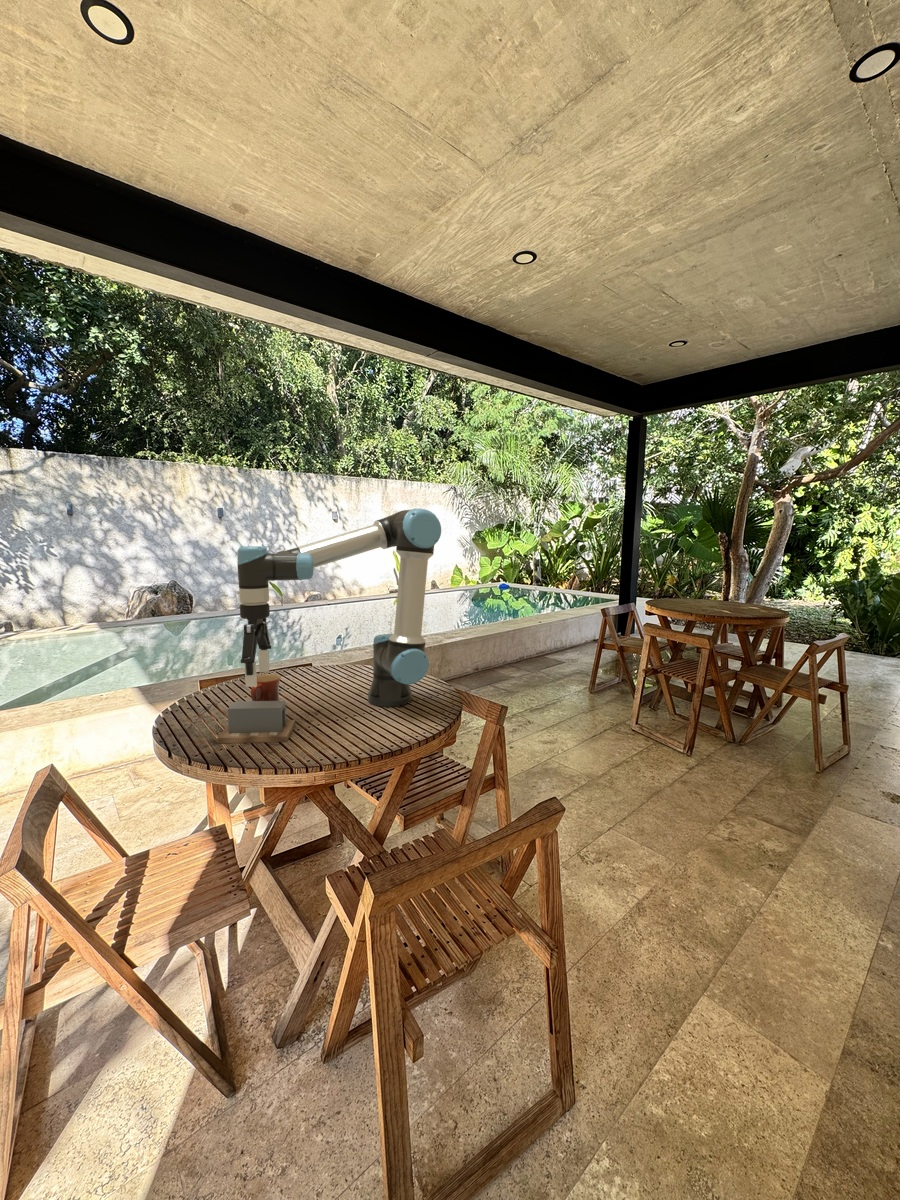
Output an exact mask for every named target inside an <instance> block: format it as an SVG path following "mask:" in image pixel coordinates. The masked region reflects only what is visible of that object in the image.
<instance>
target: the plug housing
mask: <svg viewBox="0 0 900 1200" xmlns="http://www.w3.org/2000/svg"><path fill="white" fill-rule="evenodd" d="M286 704H287V703H286V700H279V701H252V700H249V701H248V700H247V701H246V700H243V701H234V702H233V703H232V704H231V705H230V706H229V707H228V708H227V719H228V720H227V723H228V724H227V726H228V730H229V733H256V732H259V733H268V732H282V730H283V728H282V726H285V725H286V720H287V717H286V716H287V713H286V711H287V707H286V706H287V705H286Z"/></svg>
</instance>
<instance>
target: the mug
mask: <svg viewBox="0 0 900 1200" xmlns="http://www.w3.org/2000/svg"><path fill="white" fill-rule="evenodd" d="M280 681H281V675H279V674H273V673H269V674H268V673H266V674H257V686H256V687H251V689H250V699H251V701H280V695H279V694H280V692H279V690H280V689H279V687H280V686H279V685H280Z"/></svg>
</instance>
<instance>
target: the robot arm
mask: <svg viewBox="0 0 900 1200" xmlns="http://www.w3.org/2000/svg"><path fill="white" fill-rule="evenodd" d="M441 535H442V525H441V522H440V520H439V518H438V517H437V515H436V514H435V513H433V512H432V511H431V510H429V509H425V508H412V509H404V510H399V511H398V512H395V513H393V514H390V515H388V516H385V517H383V518H380V519H376V520H375V521H374V522H373V524H371V525H367V526H365V527H360V528H358V529H355V530H351V531H348V532H344V533H341V534H337V535H334V536H330V537H328V538H324V539H321V540H317V541H313V542H310V543H307V544H304V545H300V546H298V547H293V548H290V549H286V550H279V551H277V552H276V553H271V552H269V551H268V547H266V546H265V545H264V546H263V545H262V546H261V545H258V546H254V545H253V546H251V545H250V546H249V545H247V546H244V545H243V546H240V547H238V549H237V563H236V564H237V565H236V566H237V577H238V591H237V595H239V602H240V605H239V616H240V619H244V620H247V624H243V639H242V641H243V642H242V651H241V659H240V664H244V680H245V681H244V682H245V687H246V688H250V687H251V688H252V687H256V686H257V676H258V674H257V661H256V655H257V654H258V673H269V672H270V656H269V650H272V645H271V641H270V635H269V634H270V633H269V630H268V625H267V618H269V617H270V614H271V613H270V612H271V610H270V609H271V608H270V604H269V603H268V602H269V601H270V587H269V582H270V581H271V582H275V581H303V580H310V579H312V578H313V576H314V568H318V567H321V566H324V565H328V564H331V563H334V562H337V561H340V560H343V559H347V558H350V557H352V556H353V557H354V556H356V555H360V554H363V553H366V552H369V551H373V550H375V549H379V548H380V549H382V550H387V549H390V548H392V547H395V552H396V553H397V554H398V555H399V558H400V560H399V570H398V571H399V573H398V582H397V583H398V585H397V594H396V597H397V598H396V606H395V617H394V620H395V621H394V631H393V633H386V634H385V633H384V634H383V633H382V634H378V635H375V636H374V637H373V643H372V647H373V648H372V649H373V654H372V657H373V658H372V659H373V661H372V669H373V671H372V672H373V673H372V675H373V676H372V677H373V678H372V681H371V684H370V688H369V690H368V694H367V701H368V703H370V704H371V705H374V706H378V707H382V708H383V707H384V708H393V707H395V706H396V707H401V706H400V705H402V706H405V705H407V704H406V703H408V702H410V701H411V700H413V692H412V688H411V685H413V684H416V683H419V682H420V681H421V680H422V679H424V677H425V676H426V675H427V673H428V671H429V667H430V662H429V661H430V660H429V658H428V656H427V654H426V639H425V638H424V637H423V635H422V631H423V630H422V629H423V621H424V620H423V619H424V618H423V617H424V608H425V606H424V605H425V597H426V596H425V595H426V586H427V576H428V575H427V574H428V564H429V560H430V558H431V557H433V556H434V552H435V545H436V544H437V543H438V542H439V540H440V539H441ZM257 647H258V650H257ZM411 702H412V701H411ZM411 702H410V703H411ZM404 704H405V705H404ZM408 704H409V703H408ZM396 707H395V708H396Z"/></svg>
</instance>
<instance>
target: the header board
mask: <svg viewBox="0 0 900 1200" xmlns="http://www.w3.org/2000/svg"><path fill="white" fill-rule="evenodd" d="M295 726H296V720H295V719H289V720H288V719H286V725H285V726H282V728H283V730H282V732H268V733H259V732H256V733H229V730H228V725H227V726H226V727H225V728H224V730H223V731H221V733H220V734H219V736H217V738H216V741H217V744H219V745H220V744H249V743H251V744H253V743H255V744H256V743H285V742H288V740H289V738H290V737H291V734H292V732H293V731H294V728H295Z"/></svg>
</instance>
